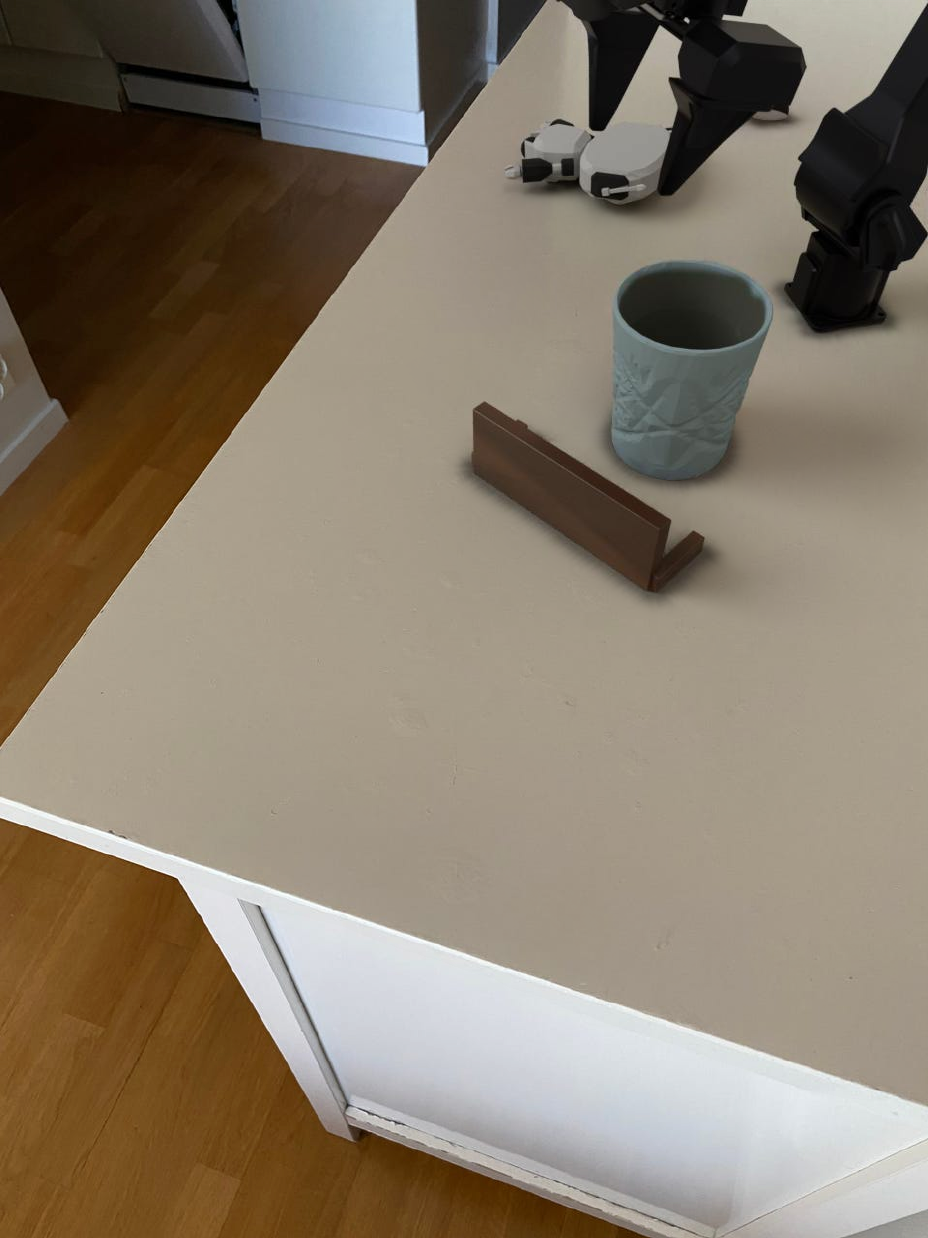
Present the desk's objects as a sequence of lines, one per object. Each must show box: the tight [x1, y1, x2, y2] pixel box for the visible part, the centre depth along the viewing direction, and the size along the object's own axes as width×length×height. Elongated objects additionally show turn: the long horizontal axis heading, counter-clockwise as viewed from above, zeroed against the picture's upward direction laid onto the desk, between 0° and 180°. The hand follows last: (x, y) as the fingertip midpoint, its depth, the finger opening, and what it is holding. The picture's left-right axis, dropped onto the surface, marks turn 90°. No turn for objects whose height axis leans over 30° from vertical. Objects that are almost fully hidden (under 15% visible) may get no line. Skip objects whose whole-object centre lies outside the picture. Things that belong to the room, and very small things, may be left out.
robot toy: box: [504, 118, 673, 205], centre depth 93 cm, size 12×4×15 cm
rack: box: [470, 400, 706, 593], centre depth 65 cm, size 5×17×6 cm, turn 45°
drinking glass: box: [611, 259, 774, 481], centre depth 67 cm, size 10×10×12 cm
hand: (628, 160), depth 63 cm, fingers open, 9 cm apart
